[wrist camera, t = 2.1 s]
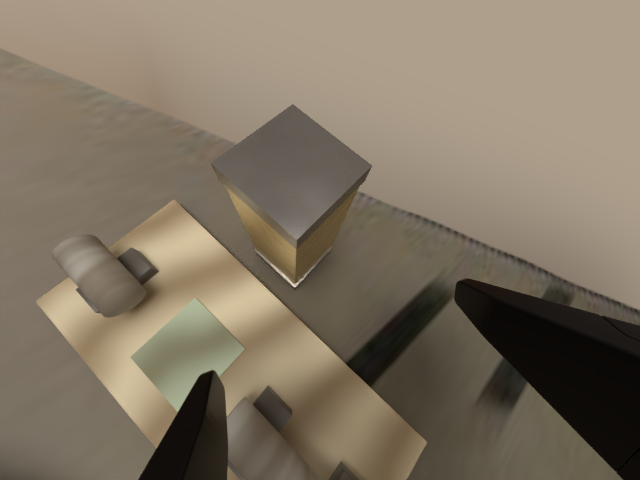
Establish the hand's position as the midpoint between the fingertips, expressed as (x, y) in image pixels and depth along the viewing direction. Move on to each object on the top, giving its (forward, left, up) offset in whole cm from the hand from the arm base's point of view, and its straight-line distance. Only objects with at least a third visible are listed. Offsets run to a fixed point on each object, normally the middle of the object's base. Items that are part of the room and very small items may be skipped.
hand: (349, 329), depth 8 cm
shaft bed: (+3, +7, -13) cm, 15 cm away
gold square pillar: (+6, -3, -13) cm, 15 cm away
